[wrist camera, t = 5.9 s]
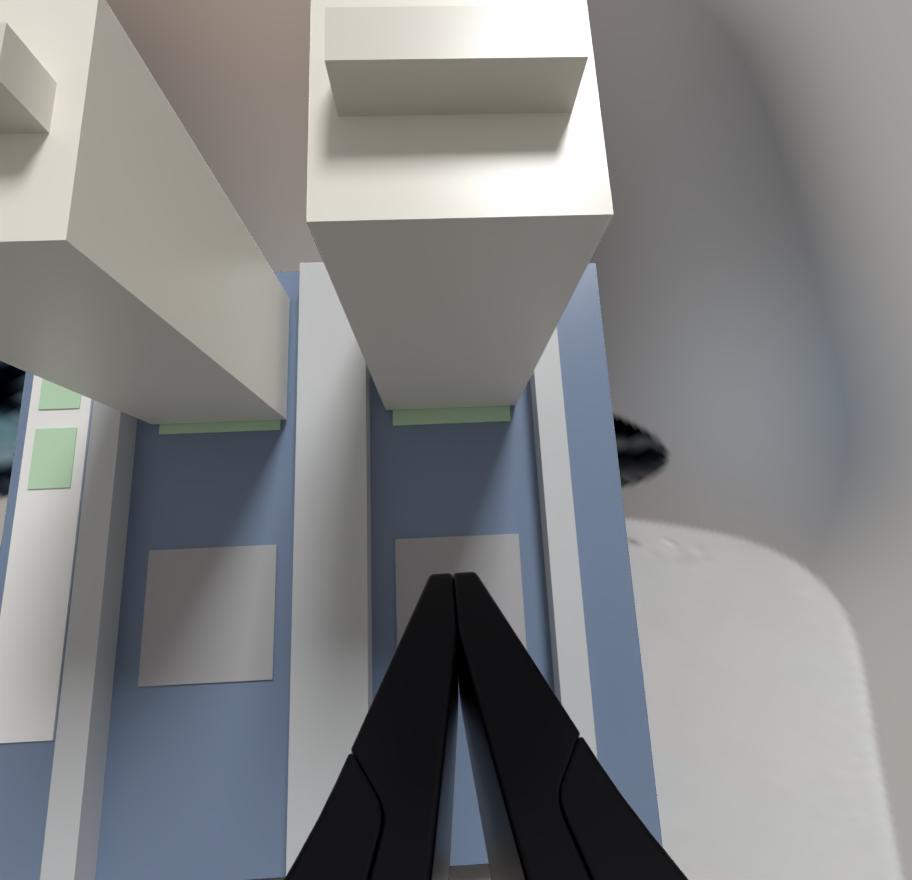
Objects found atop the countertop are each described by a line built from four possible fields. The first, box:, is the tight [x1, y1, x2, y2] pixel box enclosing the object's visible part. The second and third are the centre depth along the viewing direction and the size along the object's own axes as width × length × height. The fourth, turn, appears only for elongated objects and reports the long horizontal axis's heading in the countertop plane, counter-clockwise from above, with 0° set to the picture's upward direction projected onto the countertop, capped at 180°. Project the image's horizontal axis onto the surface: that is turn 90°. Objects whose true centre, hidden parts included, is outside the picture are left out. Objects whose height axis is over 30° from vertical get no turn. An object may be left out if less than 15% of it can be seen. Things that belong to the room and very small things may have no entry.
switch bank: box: [0, 262, 662, 880], centre depth 15 cm, size 17×18×2 cm
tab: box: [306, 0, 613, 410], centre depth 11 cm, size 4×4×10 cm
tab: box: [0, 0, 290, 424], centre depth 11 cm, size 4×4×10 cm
